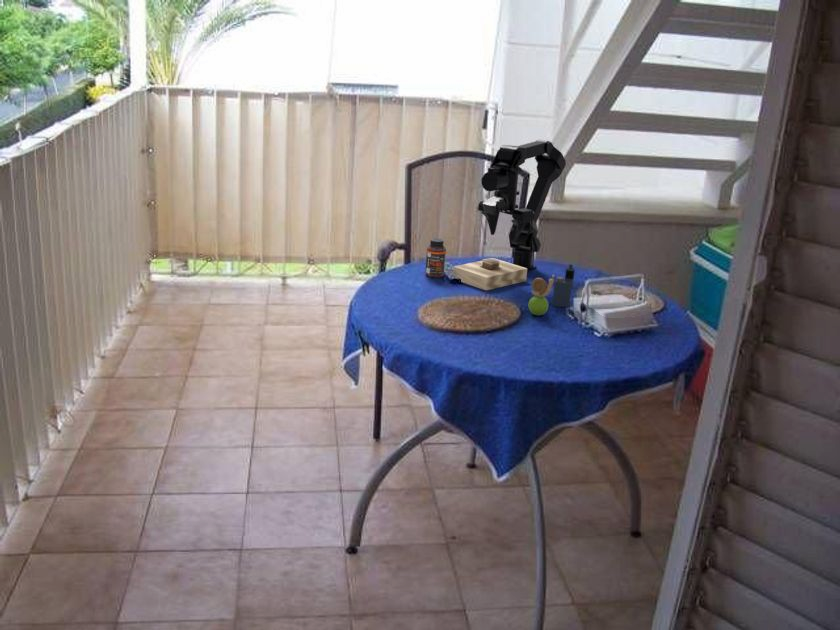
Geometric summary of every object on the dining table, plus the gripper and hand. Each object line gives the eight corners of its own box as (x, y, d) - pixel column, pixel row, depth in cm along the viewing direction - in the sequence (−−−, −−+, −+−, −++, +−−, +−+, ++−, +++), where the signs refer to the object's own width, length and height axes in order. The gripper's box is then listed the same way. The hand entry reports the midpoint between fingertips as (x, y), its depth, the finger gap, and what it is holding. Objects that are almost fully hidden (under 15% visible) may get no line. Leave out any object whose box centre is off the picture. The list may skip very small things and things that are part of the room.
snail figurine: (545, 320, 221) (550, 277, 217) (524, 315, 224) (528, 272, 220) (554, 315, 225) (558, 273, 222) (532, 310, 229) (536, 268, 225)
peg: (489, 276, 257) (491, 257, 255) (498, 279, 254) (499, 260, 252) (481, 278, 255) (482, 259, 253) (489, 281, 252) (491, 262, 250)
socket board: (493, 270, 265) (494, 258, 264) (526, 280, 256) (527, 268, 254) (452, 278, 254) (453, 266, 252) (485, 290, 244) (486, 277, 243)
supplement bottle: (427, 278, 253) (429, 242, 250) (423, 272, 259) (424, 237, 255) (446, 277, 255) (448, 242, 251) (441, 272, 260) (443, 237, 256)
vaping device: (571, 307, 233) (576, 266, 229) (552, 306, 233) (557, 265, 229) (570, 304, 235) (574, 263, 231) (551, 303, 235) (555, 262, 231)
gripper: (467, 184, 253) (463, 234, 258) (512, 195, 240) (508, 247, 245) (492, 182, 260) (488, 230, 265) (537, 192, 247) (532, 243, 252)
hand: (503, 237), depth 257 cm, fingers open, 9 cm apart
